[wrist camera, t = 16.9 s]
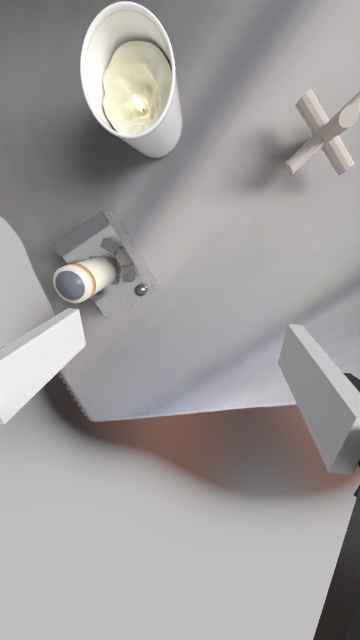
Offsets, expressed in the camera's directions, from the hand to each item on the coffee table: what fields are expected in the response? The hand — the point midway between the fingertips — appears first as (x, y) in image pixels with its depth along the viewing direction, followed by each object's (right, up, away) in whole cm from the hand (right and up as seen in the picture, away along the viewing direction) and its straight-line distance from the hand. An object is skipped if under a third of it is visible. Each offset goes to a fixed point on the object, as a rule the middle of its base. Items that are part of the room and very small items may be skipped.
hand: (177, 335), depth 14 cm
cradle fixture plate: (-12, +12, +28) cm, 33 cm away
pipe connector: (+19, +26, +17) cm, 36 cm away
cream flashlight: (-13, +10, +24) cm, 29 cm away
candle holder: (-4, +30, +19) cm, 36 cm away
